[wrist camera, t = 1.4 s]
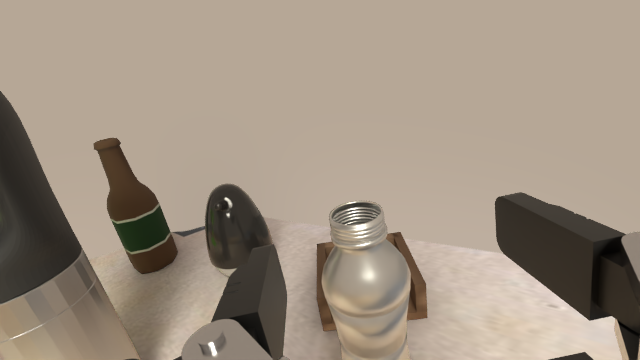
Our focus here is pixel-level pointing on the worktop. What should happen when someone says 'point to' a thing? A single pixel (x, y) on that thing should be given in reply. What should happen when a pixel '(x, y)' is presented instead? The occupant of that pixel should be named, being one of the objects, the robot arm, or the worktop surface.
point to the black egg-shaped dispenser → (233, 228)
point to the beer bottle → (135, 212)
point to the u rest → (417, 284)
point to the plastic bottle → (366, 285)
